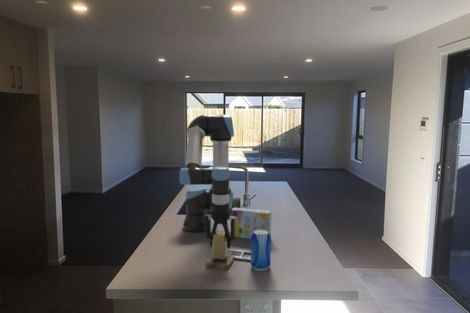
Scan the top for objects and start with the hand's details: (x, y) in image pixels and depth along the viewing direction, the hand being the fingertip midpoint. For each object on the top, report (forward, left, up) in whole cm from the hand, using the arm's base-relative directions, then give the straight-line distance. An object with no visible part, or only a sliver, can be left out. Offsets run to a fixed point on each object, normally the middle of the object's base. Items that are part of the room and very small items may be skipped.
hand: (220, 253), depth 155 cm
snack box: (+6, +35, -5) cm, 35 cm away
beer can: (+18, +1, -5) cm, 18 cm away
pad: (0, 0, -4) cm, 4 cm away
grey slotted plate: (+7, +10, -4) cm, 13 cm away
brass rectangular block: (0, 0, -1) cm, 1 cm away
